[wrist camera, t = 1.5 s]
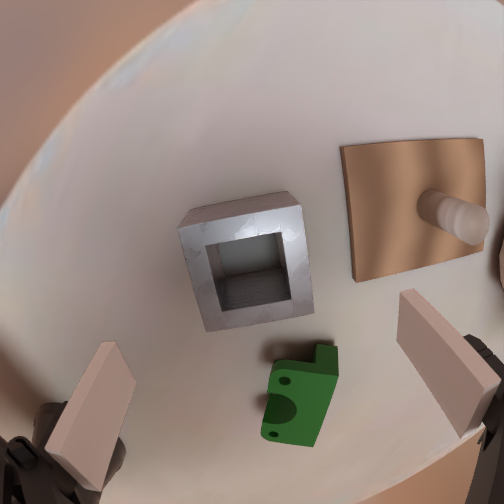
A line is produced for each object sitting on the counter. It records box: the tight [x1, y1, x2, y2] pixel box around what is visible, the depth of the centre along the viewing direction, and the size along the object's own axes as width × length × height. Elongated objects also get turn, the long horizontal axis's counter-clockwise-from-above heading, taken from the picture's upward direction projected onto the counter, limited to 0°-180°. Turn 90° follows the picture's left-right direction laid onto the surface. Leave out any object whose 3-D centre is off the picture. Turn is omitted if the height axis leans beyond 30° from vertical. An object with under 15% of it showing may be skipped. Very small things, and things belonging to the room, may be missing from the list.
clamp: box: [261, 344, 339, 447], centre depth 29 cm, size 12×6×9 cm, turn 170°
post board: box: [340, 139, 489, 283], centre depth 22 cm, size 16×12×8 cm
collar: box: [177, 191, 314, 332], centre depth 24 cm, size 8×8×6 cm
